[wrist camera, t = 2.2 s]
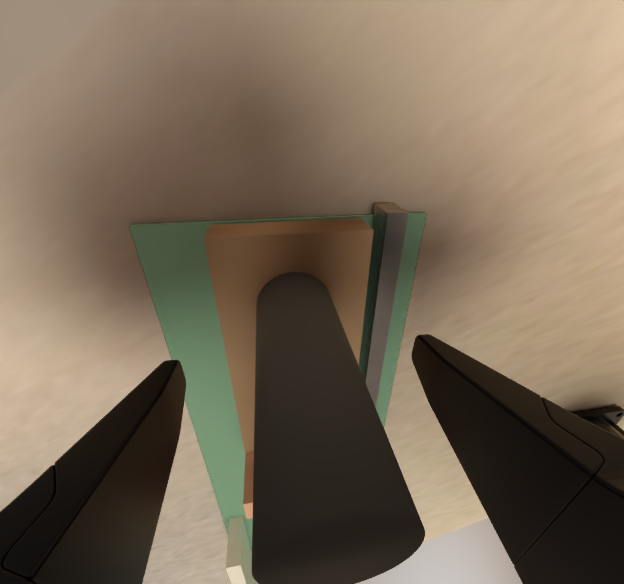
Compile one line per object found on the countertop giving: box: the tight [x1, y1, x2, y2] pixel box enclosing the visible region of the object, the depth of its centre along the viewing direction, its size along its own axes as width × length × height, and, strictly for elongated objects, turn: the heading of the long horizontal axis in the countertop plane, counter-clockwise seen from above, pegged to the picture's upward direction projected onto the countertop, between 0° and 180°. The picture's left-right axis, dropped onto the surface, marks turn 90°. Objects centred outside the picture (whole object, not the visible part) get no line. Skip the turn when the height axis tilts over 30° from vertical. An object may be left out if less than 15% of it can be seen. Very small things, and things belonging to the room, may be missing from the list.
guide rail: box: [359, 203, 409, 408], centre depth 17 cm, size 1×24×2 cm, turn 1°
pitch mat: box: [129, 212, 427, 552], centre depth 20 cm, size 12×32×1 cm, turn 0°
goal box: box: [226, 516, 259, 584], centre depth 24 cm, size 11×8×3 cm
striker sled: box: [204, 218, 425, 584], centre depth 11 cm, size 6×14×10 cm, turn 0°
